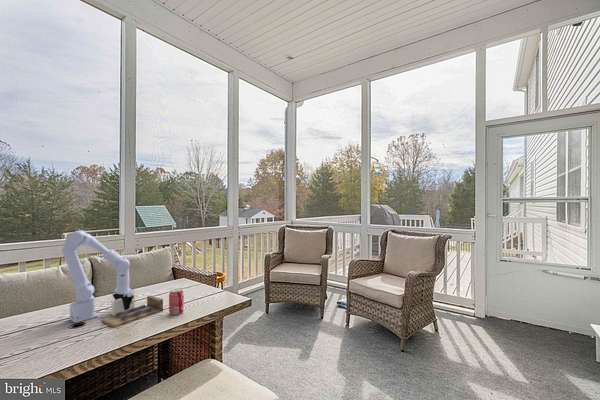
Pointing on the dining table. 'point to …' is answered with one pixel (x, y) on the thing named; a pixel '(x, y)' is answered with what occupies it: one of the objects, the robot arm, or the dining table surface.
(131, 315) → the board
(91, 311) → the robot arm
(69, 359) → the dining table surface
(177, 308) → the soda can
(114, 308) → the door panel
